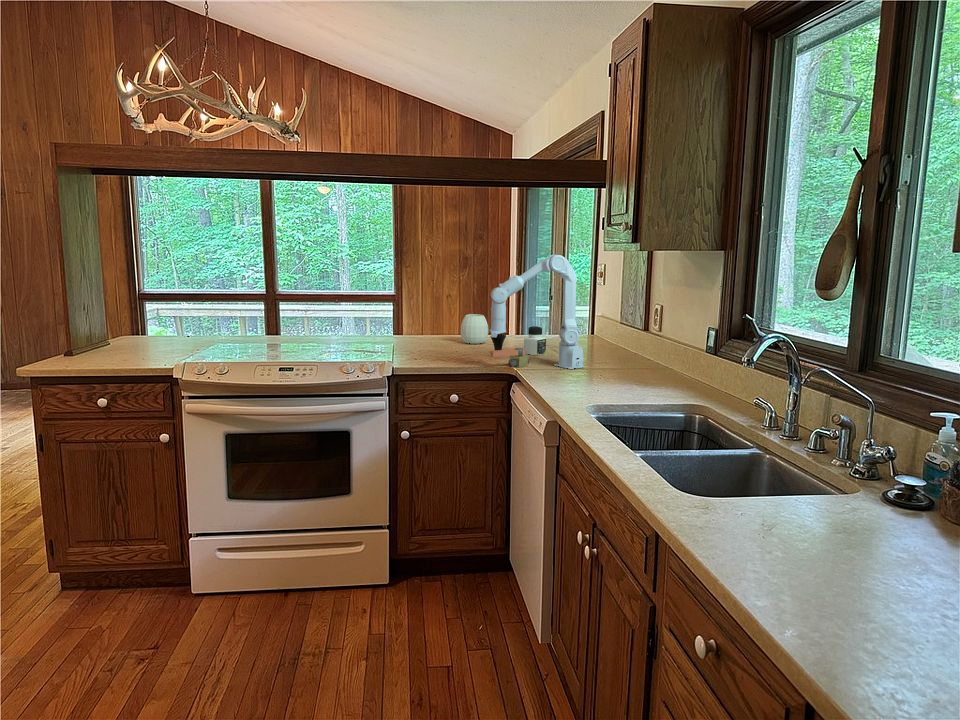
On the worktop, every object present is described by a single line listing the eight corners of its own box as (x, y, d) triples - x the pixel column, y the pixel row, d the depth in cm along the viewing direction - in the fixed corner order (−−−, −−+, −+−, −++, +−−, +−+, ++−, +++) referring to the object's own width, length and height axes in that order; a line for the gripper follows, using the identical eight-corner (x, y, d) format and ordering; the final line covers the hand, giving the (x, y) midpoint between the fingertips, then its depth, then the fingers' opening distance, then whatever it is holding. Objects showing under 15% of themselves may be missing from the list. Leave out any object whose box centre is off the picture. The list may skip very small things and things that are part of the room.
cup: (454, 343, 324) (455, 315, 322) (471, 340, 335) (472, 313, 332) (476, 346, 317) (477, 317, 314) (493, 343, 327) (494, 315, 325)
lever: (521, 353, 270) (521, 347, 269) (525, 355, 267) (525, 349, 267) (489, 355, 264) (489, 349, 263) (493, 357, 261) (493, 351, 260)
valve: (531, 366, 268) (531, 355, 267) (515, 368, 264) (515, 357, 263) (521, 363, 273) (522, 353, 272) (506, 365, 268) (506, 355, 268)
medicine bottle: (537, 355, 292) (537, 328, 290) (523, 354, 297) (524, 326, 294) (546, 353, 298) (546, 326, 296) (532, 352, 302) (532, 325, 300)
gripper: (493, 316, 271) (492, 349, 274) (483, 320, 258) (483, 355, 260) (510, 316, 270) (509, 350, 272) (501, 321, 256) (500, 356, 258)
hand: (498, 353), depth 266 cm, fingers closed, pressing on lever
